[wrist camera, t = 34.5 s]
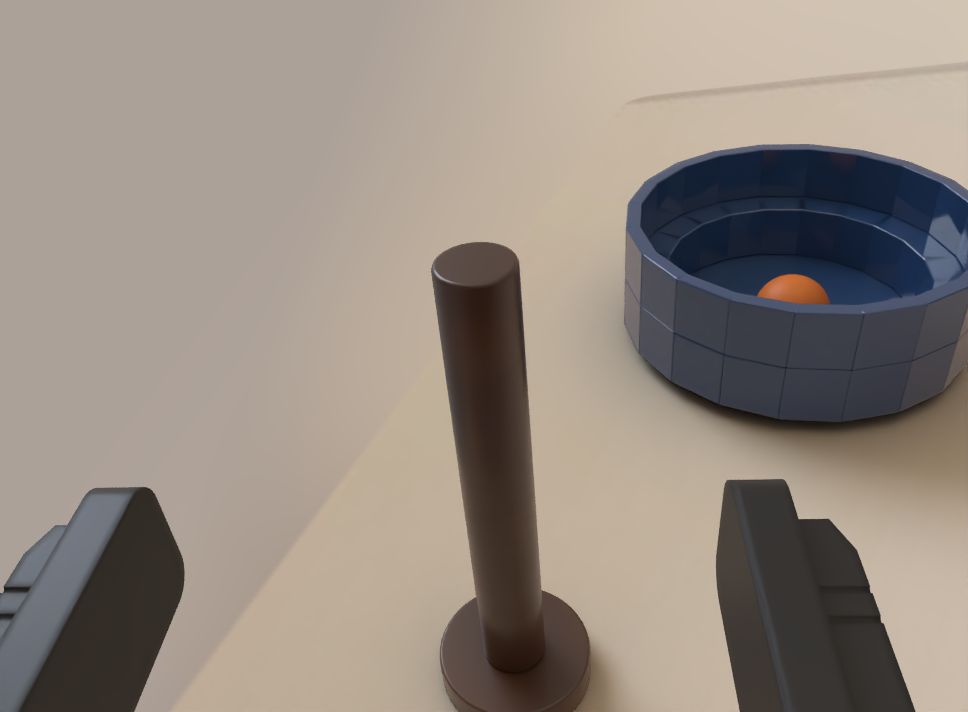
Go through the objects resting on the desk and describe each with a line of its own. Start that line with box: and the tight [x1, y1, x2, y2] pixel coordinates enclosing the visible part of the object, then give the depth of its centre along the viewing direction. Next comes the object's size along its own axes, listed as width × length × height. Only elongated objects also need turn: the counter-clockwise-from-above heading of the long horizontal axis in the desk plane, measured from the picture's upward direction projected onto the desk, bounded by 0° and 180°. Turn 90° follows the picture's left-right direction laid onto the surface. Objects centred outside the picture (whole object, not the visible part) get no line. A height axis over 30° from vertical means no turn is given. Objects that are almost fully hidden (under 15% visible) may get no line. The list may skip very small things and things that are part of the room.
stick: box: [431, 242, 590, 712], centre depth 22 cm, size 4×4×14 cm
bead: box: [757, 274, 830, 304], centre depth 36 cm, size 3×3×3 cm
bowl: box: [624, 144, 968, 422], centre depth 37 cm, size 14×14×6 cm
